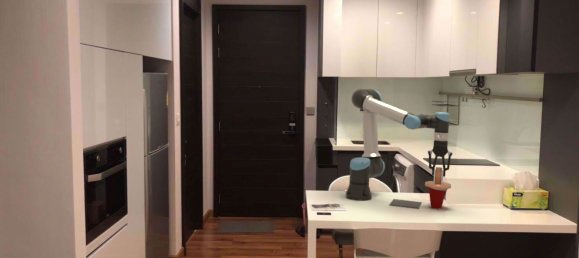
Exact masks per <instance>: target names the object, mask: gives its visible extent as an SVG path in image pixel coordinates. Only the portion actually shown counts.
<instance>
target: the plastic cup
mask: <svg viewBox="0 0 579 258" xmlns="http://www.w3.org/2000/svg"><path fill="white" fill-rule="evenodd" d="M448 190H449V189H436V188H430V187H428V193H429V202H430V204H429V205H430V208H432V209H438V210H440V209H442V207H443V204H444V201H445V196H446V193H447V191H448Z"/></svg>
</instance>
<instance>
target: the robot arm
mask: <svg viewBox="0 0 579 258" xmlns="http://www.w3.org/2000/svg"><path fill="white" fill-rule="evenodd" d="M351 102H352V105H353V106H354V107H355V108H357V109H359V113H360V114H361V115H362V130H363V154H362V155H361V157H354V158H352V159H351V160H350V163H349V184H348V187H347V189H346V192H345V197H346V199H349V200H353V201H369V200H371V199H372V191H371V187H370V179H373V178H377V177H380V176H382V174H383V173H384V172H385V168H386V165H385V161H383V159H382V155H381V154H380V152H379V139H378V138H379V137H378V116H377V115H379V116H382V117H383V118H387V119H389V120H392V121H393V122H396V123H399V124H400V125H403V126H405V127H406V128H407V129H408V130H419V129H434V131H433V132H434V133H433V145H432V147H433V148H432V149H430V150H428V151H427V155H428V169H430V170H431V176H433V181H434V182H435V174H436V164H437V161H438V157H439V158H441V162H442V176H441V183H443V182H444V178H445V177H446V172H447V171H449V170H450V167H451V159H452V155H453V152H452V151H449V149H448V144H449V142H448V140H449V132H450V131H449V128H450V113H449V112H443V111H436V112H435V113H434V115H431V114H423V113H422V114H421V113H419V114H414V113H412V112H409V111H407V110H405V109H402V108H399V107H396V106H394V105H391V104H388V103H387V102H384V101H383V98H382V95H381V93H380V92H379V91H378V90H376V89H372V88H365V89H364V88H359V89H357V90H355V91H354V92H353V93H352V94H351ZM432 154H434V160H433V164H432ZM446 155H447V156H448V158H447V163H446V162H445V161H446V159H445V157H446ZM446 164H447V165H446Z"/></svg>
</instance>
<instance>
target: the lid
mask: <svg viewBox="0 0 579 258" xmlns="http://www.w3.org/2000/svg"><path fill="white" fill-rule="evenodd" d="M435 170H436V174H435V182H434V180H428V181H425V182H424V186H425V187H427V188H429V187H430V188H436V189H448V190H449V189H451V188H452V184H451V183H449V182H445V181H443V183H441V176H442V170H443V167H442V166H441V167H440V166H438V167H437V166H435Z"/></svg>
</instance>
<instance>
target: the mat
mask: <svg viewBox="0 0 579 258" xmlns="http://www.w3.org/2000/svg"><path fill="white" fill-rule="evenodd" d="M388 205H389V206H392V207H400V208H408V209H416V210H419V209H420V207H421V205H422V201H415V200H405V199H399V198H398V199H397V198H393V199H392V200H391V202H390V203H389V204H388Z"/></svg>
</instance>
